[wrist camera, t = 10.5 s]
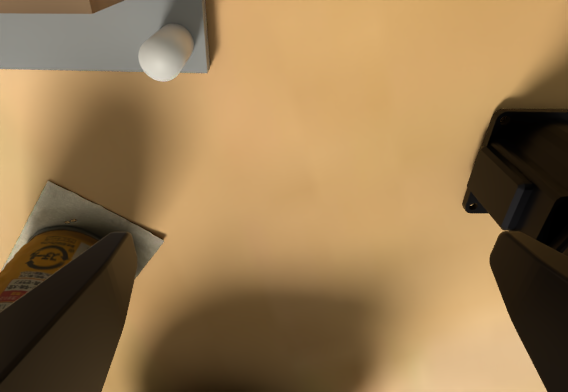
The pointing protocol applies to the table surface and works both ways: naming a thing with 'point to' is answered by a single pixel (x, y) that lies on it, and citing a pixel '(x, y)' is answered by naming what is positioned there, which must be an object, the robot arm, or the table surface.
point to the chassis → (111, 39)
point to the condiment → (63, 240)
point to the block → (55, 6)
